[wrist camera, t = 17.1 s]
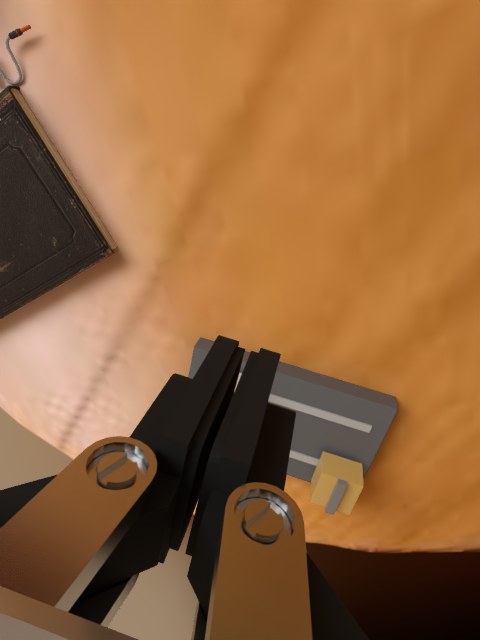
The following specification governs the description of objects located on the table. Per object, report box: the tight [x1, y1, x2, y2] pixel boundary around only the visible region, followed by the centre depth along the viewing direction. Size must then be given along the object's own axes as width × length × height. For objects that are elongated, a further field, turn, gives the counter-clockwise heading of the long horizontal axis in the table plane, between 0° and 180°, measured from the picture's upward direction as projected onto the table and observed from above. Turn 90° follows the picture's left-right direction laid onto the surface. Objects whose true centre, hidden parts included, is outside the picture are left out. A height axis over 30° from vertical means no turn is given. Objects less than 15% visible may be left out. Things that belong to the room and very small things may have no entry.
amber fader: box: [310, 451, 364, 515], centre depth 41 cm, size 4×4×4 cm
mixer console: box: [188, 338, 398, 482], centre depth 43 cm, size 20×12×2 cm, turn 77°
